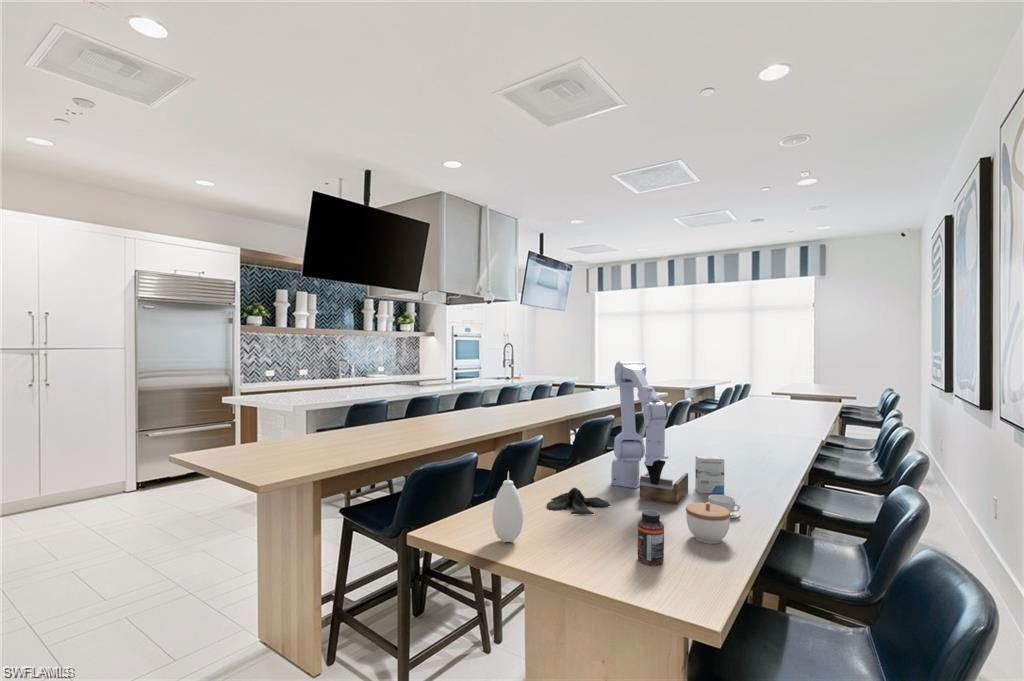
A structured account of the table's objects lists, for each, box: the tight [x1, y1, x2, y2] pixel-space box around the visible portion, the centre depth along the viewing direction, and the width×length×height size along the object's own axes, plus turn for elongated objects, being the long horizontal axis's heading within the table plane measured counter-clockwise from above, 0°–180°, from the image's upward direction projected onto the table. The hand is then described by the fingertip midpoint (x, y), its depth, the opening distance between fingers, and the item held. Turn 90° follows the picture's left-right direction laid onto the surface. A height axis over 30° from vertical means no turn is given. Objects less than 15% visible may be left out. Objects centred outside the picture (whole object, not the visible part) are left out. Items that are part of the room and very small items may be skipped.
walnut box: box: [638, 472, 689, 506], centre depth 168 cm, size 12×16×6 cm
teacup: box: [708, 494, 741, 519], centre depth 151 cm, size 10×10×5 cm
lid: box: [639, 472, 684, 490], centre depth 166 cm, size 10×16×3 cm, turn 149°
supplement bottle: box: [637, 509, 665, 566], centre depth 118 cm, size 6×6×11 cm
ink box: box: [694, 455, 725, 495], centre depth 173 cm, size 8×5×12 cm, turn 84°
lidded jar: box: [685, 501, 731, 545], centre depth 131 cm, size 11×11×9 cm
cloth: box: [546, 487, 612, 515], centre depth 158 cm, size 22×19×6 cm
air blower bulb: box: [492, 470, 524, 543], centre depth 128 cm, size 8×8×18 cm
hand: (654, 484), depth 158 cm, fingers closed
